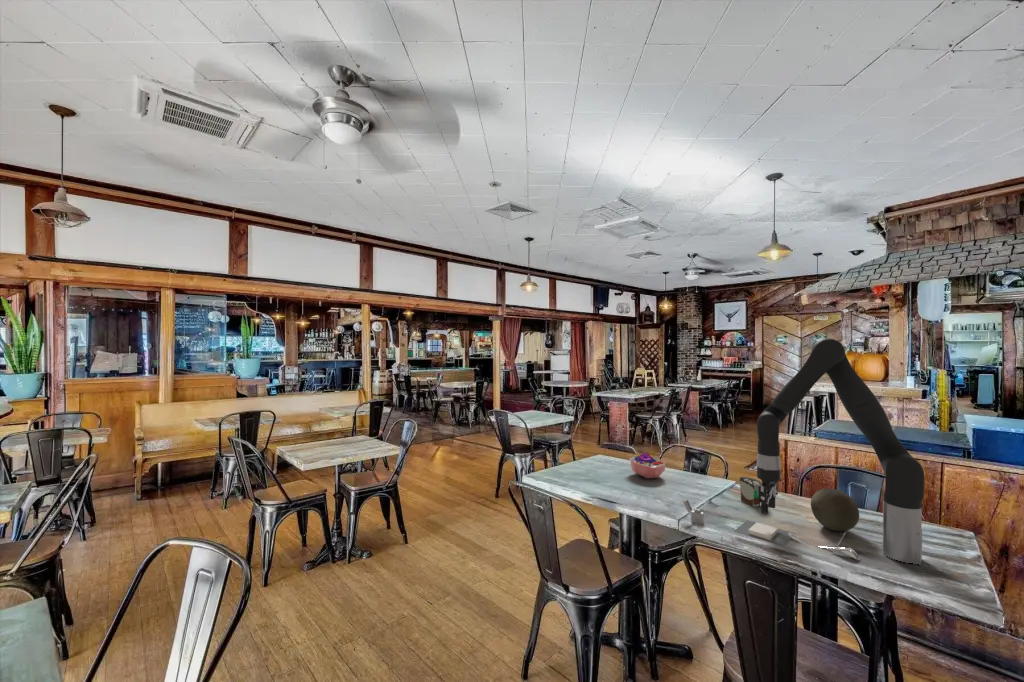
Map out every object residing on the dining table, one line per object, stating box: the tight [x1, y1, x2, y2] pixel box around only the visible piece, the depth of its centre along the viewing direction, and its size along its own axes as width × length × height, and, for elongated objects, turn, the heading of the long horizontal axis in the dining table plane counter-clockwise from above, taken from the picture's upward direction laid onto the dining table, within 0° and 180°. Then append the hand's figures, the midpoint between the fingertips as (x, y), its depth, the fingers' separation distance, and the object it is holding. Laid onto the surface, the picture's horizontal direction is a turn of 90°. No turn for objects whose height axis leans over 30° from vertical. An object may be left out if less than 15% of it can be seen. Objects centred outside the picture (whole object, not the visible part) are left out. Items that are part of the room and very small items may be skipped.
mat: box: [734, 519, 796, 547], centre depth 157 cm, size 16×14×1 cm
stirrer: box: [788, 532, 860, 561], centre depth 145 cm, size 20×4×5 cm
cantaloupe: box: [810, 488, 860, 532], centre depth 159 cm, size 14×14×15 cm
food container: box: [738, 476, 762, 508], centre depth 185 cm, size 12×6×10 cm, turn 0°
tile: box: [748, 522, 779, 540], centre depth 155 cm, size 7×2×9 cm
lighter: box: [682, 499, 705, 525], centre depth 166 cm, size 7×2×8 cm, turn 53°
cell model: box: [629, 452, 666, 479], centre depth 221 cm, size 17×20×11 cm
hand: (768, 510), depth 160 cm, fingers open, 7 cm apart
